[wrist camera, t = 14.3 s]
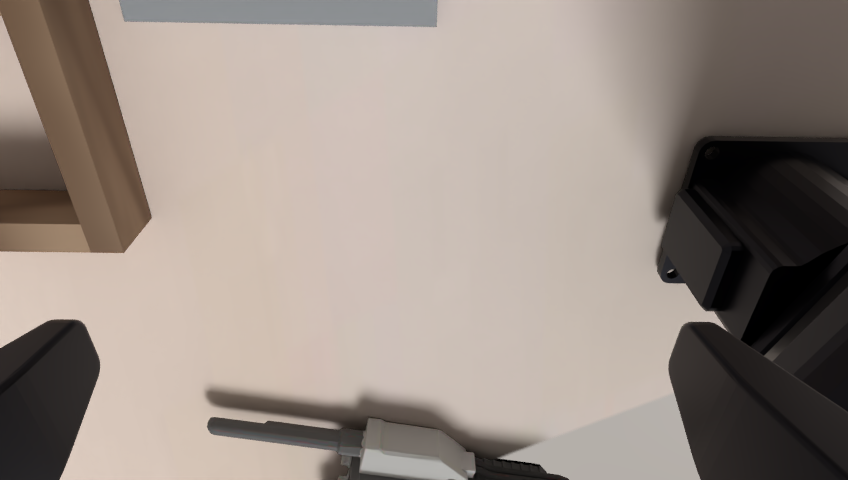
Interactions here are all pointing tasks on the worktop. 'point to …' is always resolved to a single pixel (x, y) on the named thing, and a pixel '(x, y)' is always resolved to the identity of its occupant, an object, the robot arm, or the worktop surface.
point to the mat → (285, 12)
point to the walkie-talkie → (387, 451)
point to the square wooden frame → (72, 137)
